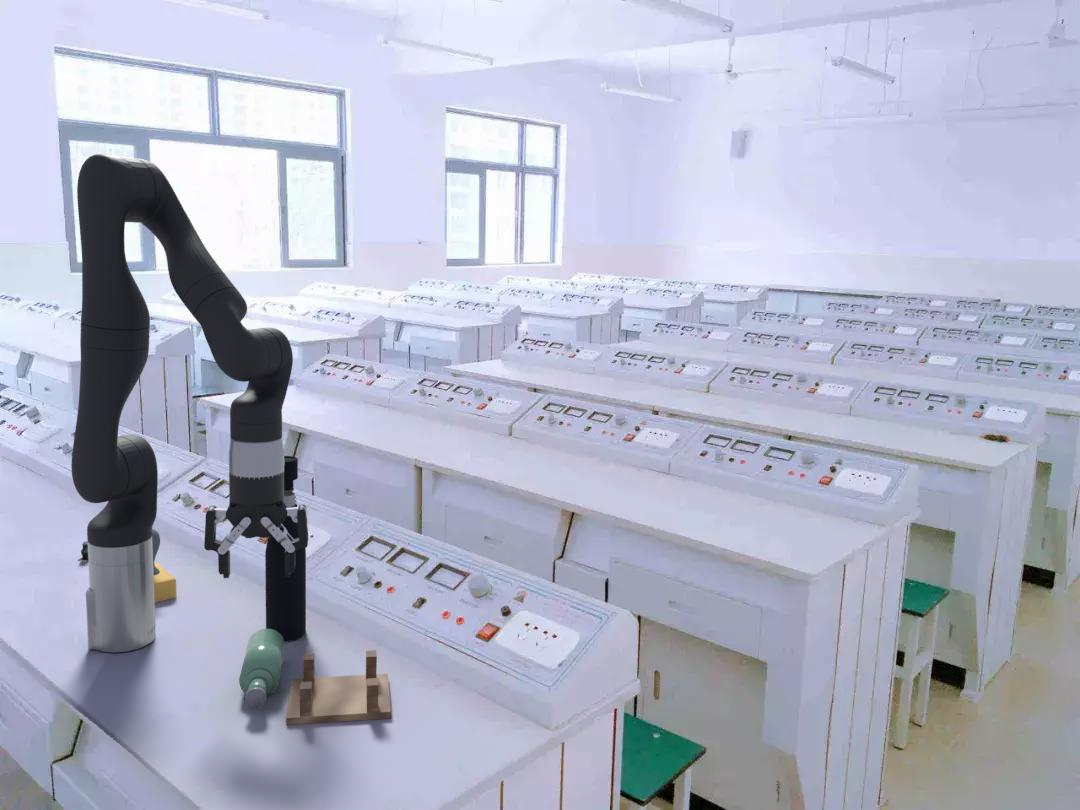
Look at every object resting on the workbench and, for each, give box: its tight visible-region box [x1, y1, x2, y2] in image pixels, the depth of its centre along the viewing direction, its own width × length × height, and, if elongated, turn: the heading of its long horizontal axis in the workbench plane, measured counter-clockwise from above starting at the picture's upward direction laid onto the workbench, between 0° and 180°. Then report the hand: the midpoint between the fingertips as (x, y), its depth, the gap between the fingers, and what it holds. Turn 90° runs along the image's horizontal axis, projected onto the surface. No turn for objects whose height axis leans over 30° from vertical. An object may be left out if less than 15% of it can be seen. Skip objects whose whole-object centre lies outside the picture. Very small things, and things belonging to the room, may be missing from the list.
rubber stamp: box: [152, 528, 178, 603], centre depth 162 cm, size 10×6×12 cm, turn 41°
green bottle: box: [238, 628, 286, 709], centre depth 131 cm, size 16×6×6 cm, turn 12°
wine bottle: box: [264, 455, 307, 643], centre depth 146 cm, size 6×6×30 cm
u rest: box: [285, 649, 392, 726], centre depth 128 cm, size 14×11×5 cm
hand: (257, 575), depth 131 cm, fingers open, 8 cm apart
